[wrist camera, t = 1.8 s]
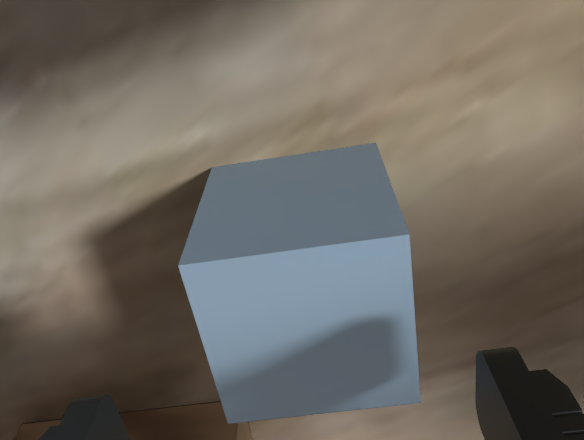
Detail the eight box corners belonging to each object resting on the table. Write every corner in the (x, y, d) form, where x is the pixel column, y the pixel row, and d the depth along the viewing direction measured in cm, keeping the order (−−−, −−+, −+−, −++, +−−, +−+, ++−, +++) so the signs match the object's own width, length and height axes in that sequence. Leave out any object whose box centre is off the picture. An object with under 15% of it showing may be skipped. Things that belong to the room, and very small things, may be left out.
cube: (375, 141, 18) (409, 234, 12) (388, 278, 20) (420, 402, 15) (212, 166, 18) (178, 265, 13) (245, 296, 21) (227, 423, 15)
